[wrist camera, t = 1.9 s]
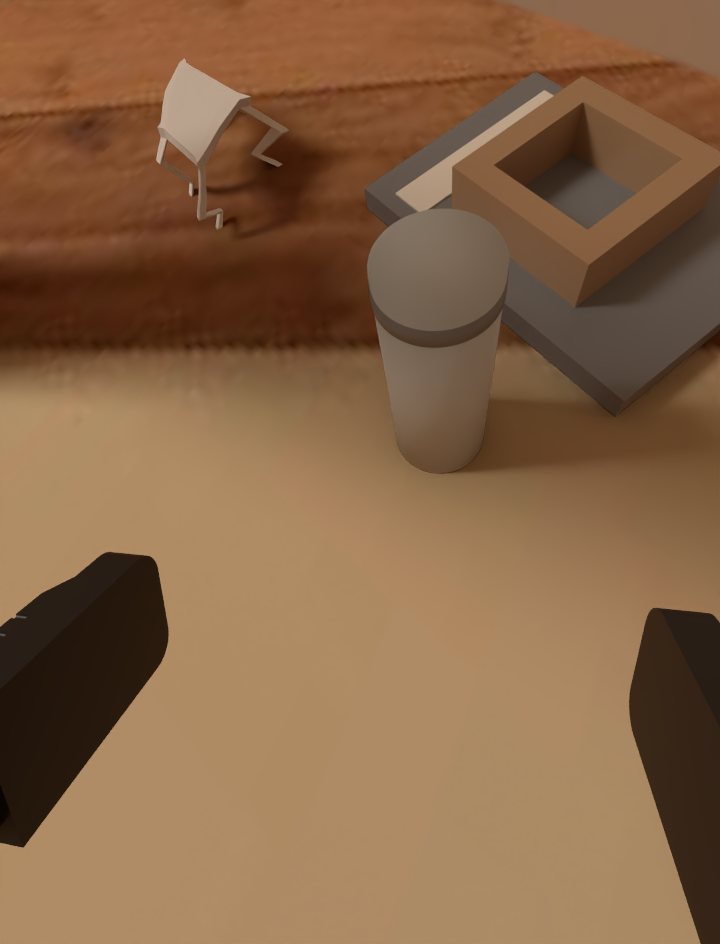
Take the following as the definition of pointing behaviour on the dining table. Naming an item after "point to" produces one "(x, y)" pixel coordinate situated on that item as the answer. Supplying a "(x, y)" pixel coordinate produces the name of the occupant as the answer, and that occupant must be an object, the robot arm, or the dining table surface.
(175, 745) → the dining table surface
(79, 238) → the dining table surface
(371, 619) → the dining table surface
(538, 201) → the assembly jig
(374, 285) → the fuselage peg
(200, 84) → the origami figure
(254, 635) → the dining table surface
